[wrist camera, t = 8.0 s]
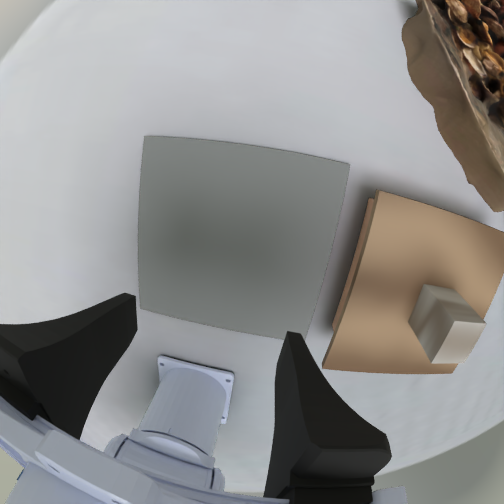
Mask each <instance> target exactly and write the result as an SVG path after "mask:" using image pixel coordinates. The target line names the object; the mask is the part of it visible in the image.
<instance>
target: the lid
mask: <svg viewBox="0 0 504 504" xmlns="http://www.w3.org/2000/svg"><path fill="white" fill-rule="evenodd" d="M503 273H504V232H502V231H500V230H497V229H495V228H492V227H490V226H487V225H485V224H482V223H480V222H477V221H474V220H472V219H469V218H466V217H464V216H461V215H458V214H455V213H452V212H449V211H447V210H444V209H441V208H438V207H434V206H431V205H428V204H425V203H422V202H419V201H415V200H412V199H409V198H405V197H402V196H398V195H395V194H391V193H388V192H384V191H380V190H377V189H376V194H375V198H374V202H373V207H372V211H371V215H370V219H369V223H368V227H367V231H366V234H365V238H364V242H363V245H362V249H361V252H360V256H359V259H358V263H357V266H356V269H355V273H354V276H353V279H352V282H351V285H350V288H349V291H348V294H347V297H346V300H345V303H344V306H343V309H342V312H341V315H340V317H339V320H338V323H337V326H336V328H335V331H334V334H333V336H332V339H331V341H330V344H329V347H328V349H327V352H326V354H325V357H324V359H323V361H322V369H331V370H341V371H353V372H368V373H389V374H449V373H453V371H454V370H455V368H456V366H457V365H458V363H464V362H465V361H466V359H467V358H468V356H469V354H470V353H471V351H472V349H473V348H474V346H475V344H476V342H477V341H478V339H479V337H480V335H481V333H482V332H483V330H484V328H485V326H486V322H485V321H484V320H483V319H484V317H485V315H486V313H487V311H488V309H489V307H490V304H491V302H492V300H493V298H494V295H495V293H496V291H497V288H498V286H499V284H500V281H501V279H502V276H503Z"/></svg>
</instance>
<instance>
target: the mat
mask: <svg viewBox="0 0 504 504" xmlns="http://www.w3.org/2000/svg"><path fill="white" fill-rule="evenodd" d="M349 169H350V164H346V163H342V162H337V161H333V160H329V159H324V158H319V157H315V156H310V155H305V154H299V153H294V152H289V151H283V150H277V149H271V148H265V147H258V146H252V145H244V144H237V143H229V142H220V141H211V140H200V139H188V138H175V137H156V136H144V143H143V153H142V164H141V176H140V192H139V215H138V274H139V297H140V309H144V310H147V311H151V312H155V313H159V314H162V315H166V316H170V317H174V318H178V319H182V320H187V321H191V322H195V323H200V324H204V325H209V326H213V327H218V328H223V329H228V330H232V331H238V332H243V333H248V334H253V335H259V336H265V337H270V338H276V339H283V340H285V337H286V333H287V331H291V332H296V333H301V335H302V336H303V339H304V341H305V339H306V336H307V333H308V330H309V326H310V323H311V320H312V317H313V314H314V310H315V307H316V304H317V300H318V297H319V294H320V290H321V287H322V283H323V280H324V276H325V272H326V269H327V265H328V261H329V257H330V254H331V250H332V246H333V242H334V238H335V234H336V230H337V225H338V221H339V217H340V212H341V208H342V203H343V199H344V194H345V189H346V185H347V180H348V175H349Z"/></svg>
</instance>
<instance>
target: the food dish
mask: <svg viewBox="0 0 504 504" xmlns="http://www.w3.org/2000/svg"><path fill="white" fill-rule="evenodd" d="M416 2H417V5H418V10H417V13H416V15H415V16H414V17H412V18H408V20H407V21H406V23H405V24H404V26H403V28H402V41H403V43H404V46H405V50H406V56H407V66H408V67H407V68H408V72H409V75H410V77H411V80H412V82H413V84H414V85H415V86H416V88H417V89H418V90H419V91H420V92H421V94H422V96H423V97H424V98H425V99H426V100H427V101H428V102H429V103H430V104H431V105H432V106H433V108H434V113H435V118H436V122H437V127H438V130H439V131H440V134H441V135H442V137H443V139H444V141H445V142H446V144H447V145H448V147H449V148H450V149H451V150H452V152H453V154H454V156H455V158H456V159H457V160H458V161H459V163H460V164H461V165H462V168H463V170H464V172H465V175H466V178H467V181H468V183H469V184H472V185H474V187H475V188H476V190H477V191H478V193H479V194H480V195H481V196H482V198H483V199H484V201H485V202H486V203H487V204H488V205H489V206H490V208H491V209H492V210H493V211H494V212H501V211H504V0H416Z"/></svg>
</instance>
